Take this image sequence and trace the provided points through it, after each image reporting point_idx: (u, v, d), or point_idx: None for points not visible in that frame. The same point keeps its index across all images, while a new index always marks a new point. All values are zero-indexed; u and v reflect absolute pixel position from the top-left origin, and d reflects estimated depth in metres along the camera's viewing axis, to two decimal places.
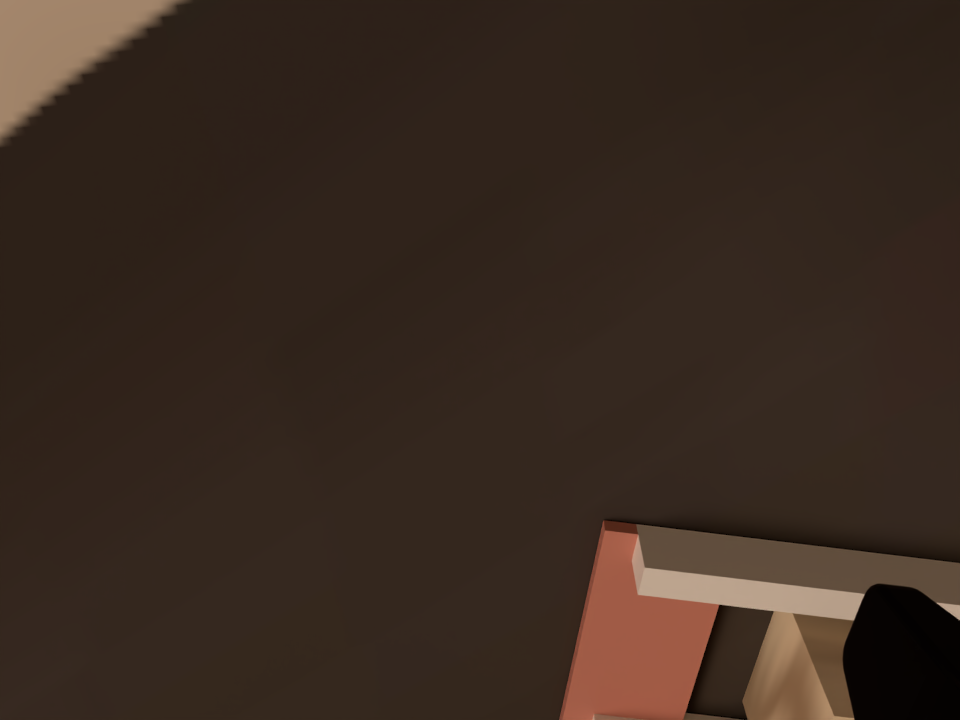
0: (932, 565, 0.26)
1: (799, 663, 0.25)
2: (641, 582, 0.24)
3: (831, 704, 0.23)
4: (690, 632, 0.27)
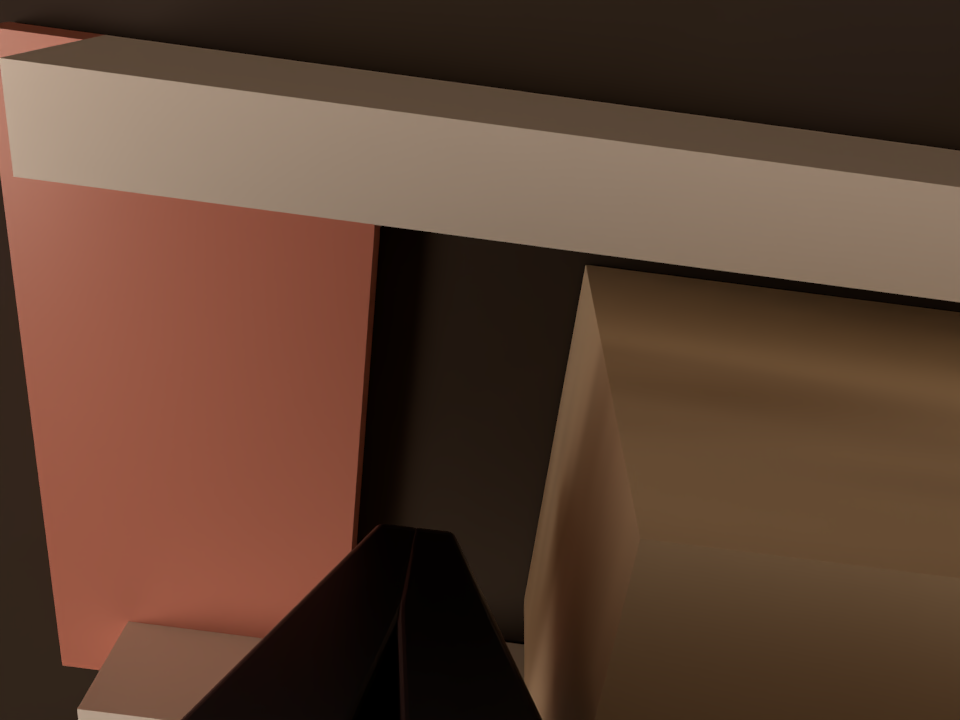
0: None
1: (590, 432, 0.08)
2: (10, 125, 0.07)
3: (642, 503, 0.06)
4: (309, 385, 0.10)
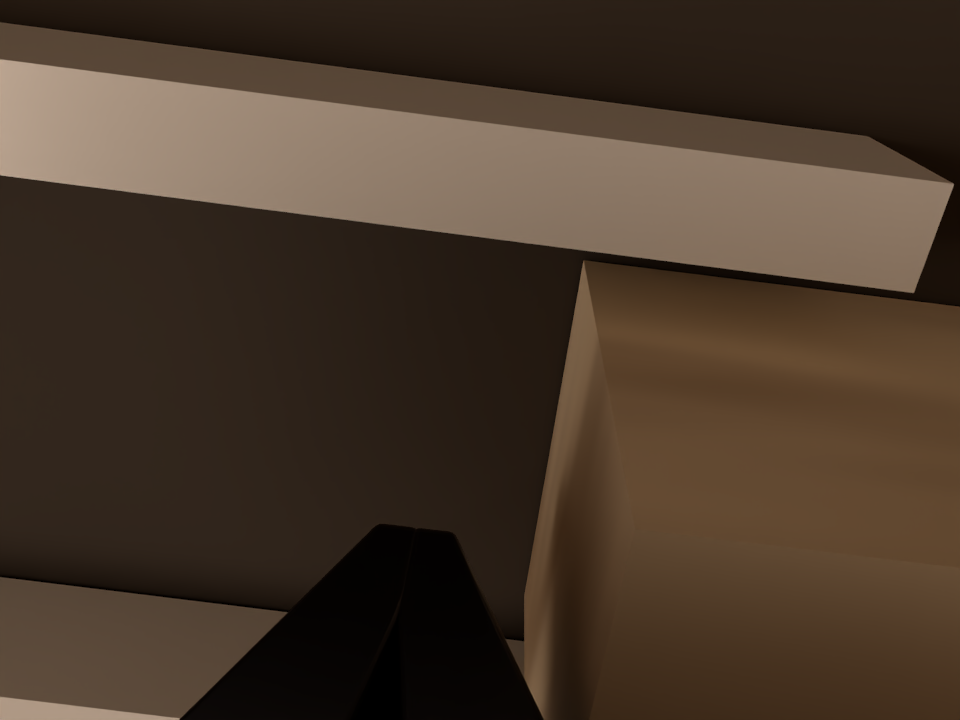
0: None
1: (588, 425, 0.08)
2: None
3: (637, 493, 0.06)
4: None
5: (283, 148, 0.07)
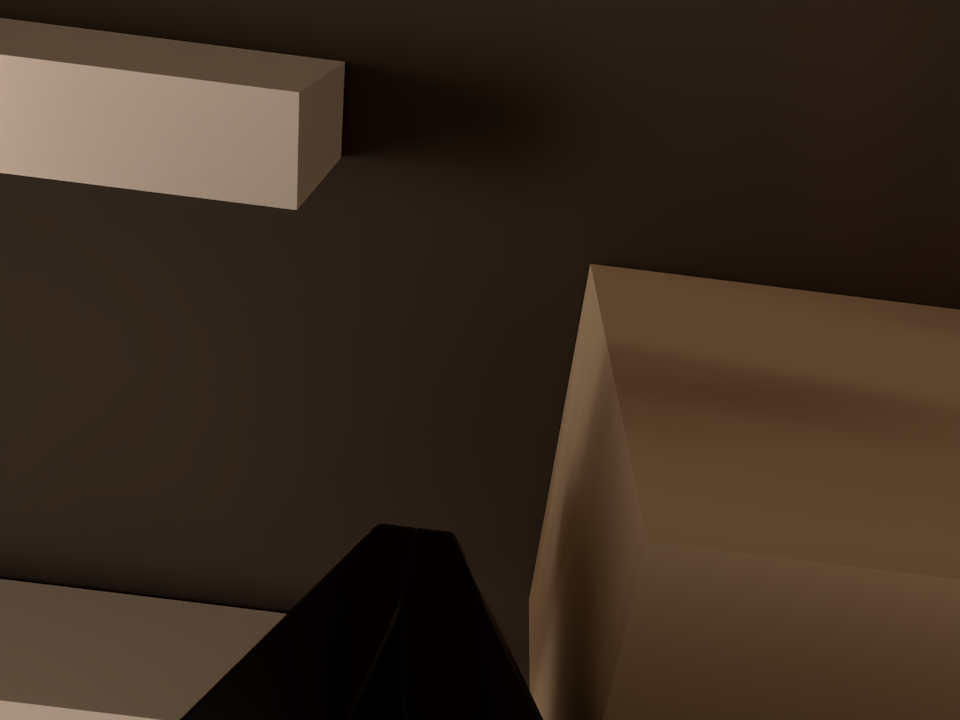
0: None
1: (597, 431, 0.08)
2: None
3: (650, 502, 0.06)
4: None
5: None
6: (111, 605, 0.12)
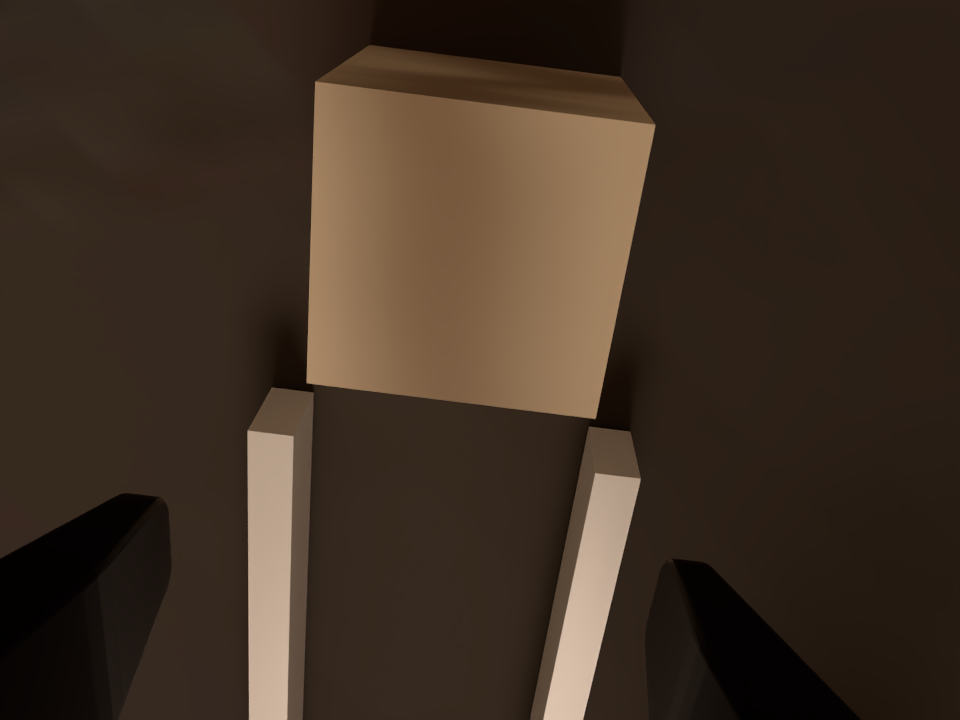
0: None
1: None
2: None
3: None
4: None
5: (266, 630, 0.21)
6: (570, 530, 0.21)
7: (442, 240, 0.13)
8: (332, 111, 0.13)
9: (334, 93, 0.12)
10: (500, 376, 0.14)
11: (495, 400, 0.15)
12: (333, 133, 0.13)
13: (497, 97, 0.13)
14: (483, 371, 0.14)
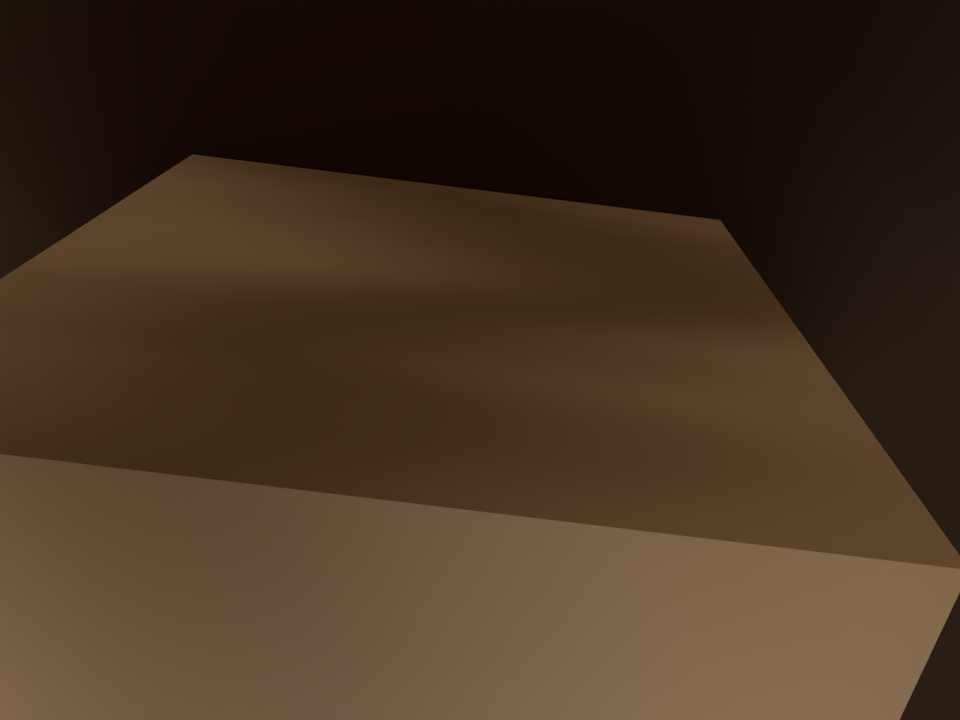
0: None
1: None
2: None
3: None
4: None
5: None
6: None
7: None
8: None
9: None
10: None
11: None
12: None
13: (428, 425, 0.04)
14: None
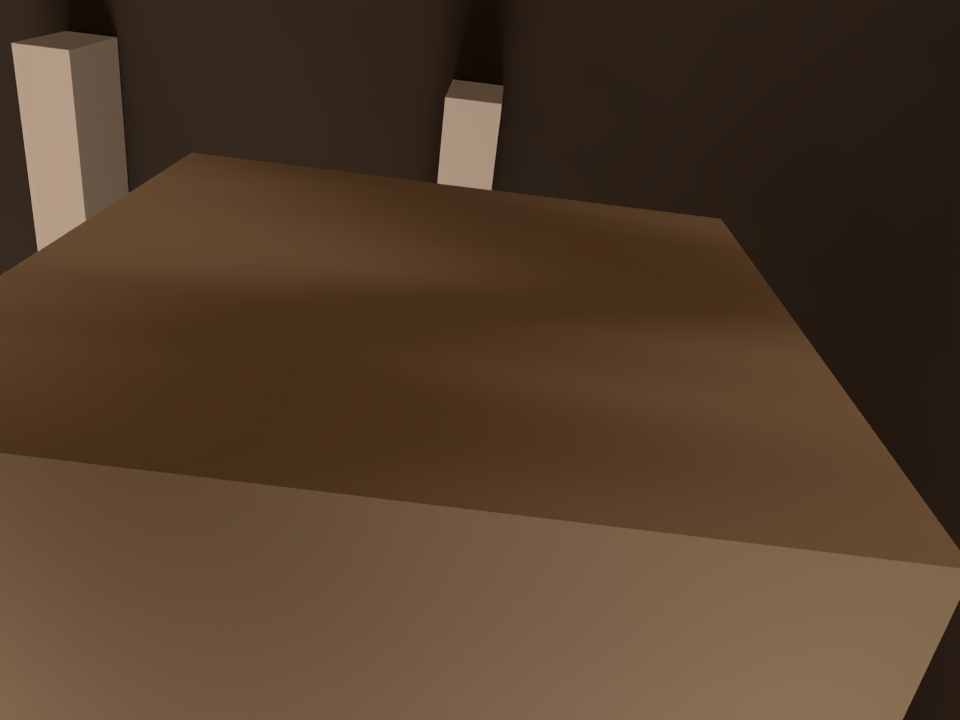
0: None
1: None
2: None
3: None
4: None
5: None
6: None
7: None
8: None
9: None
10: None
11: None
12: None
13: (428, 423, 0.04)
14: None
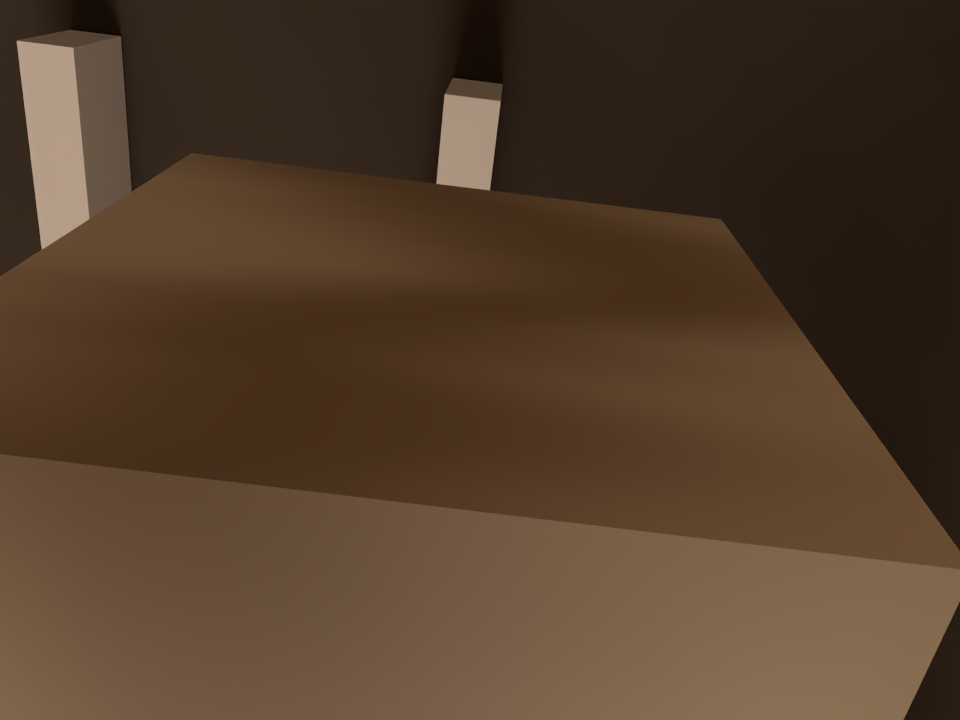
0: None
1: None
2: None
3: None
4: None
5: None
6: None
7: None
8: None
9: None
10: None
11: None
12: None
13: (428, 424, 0.04)
14: None
